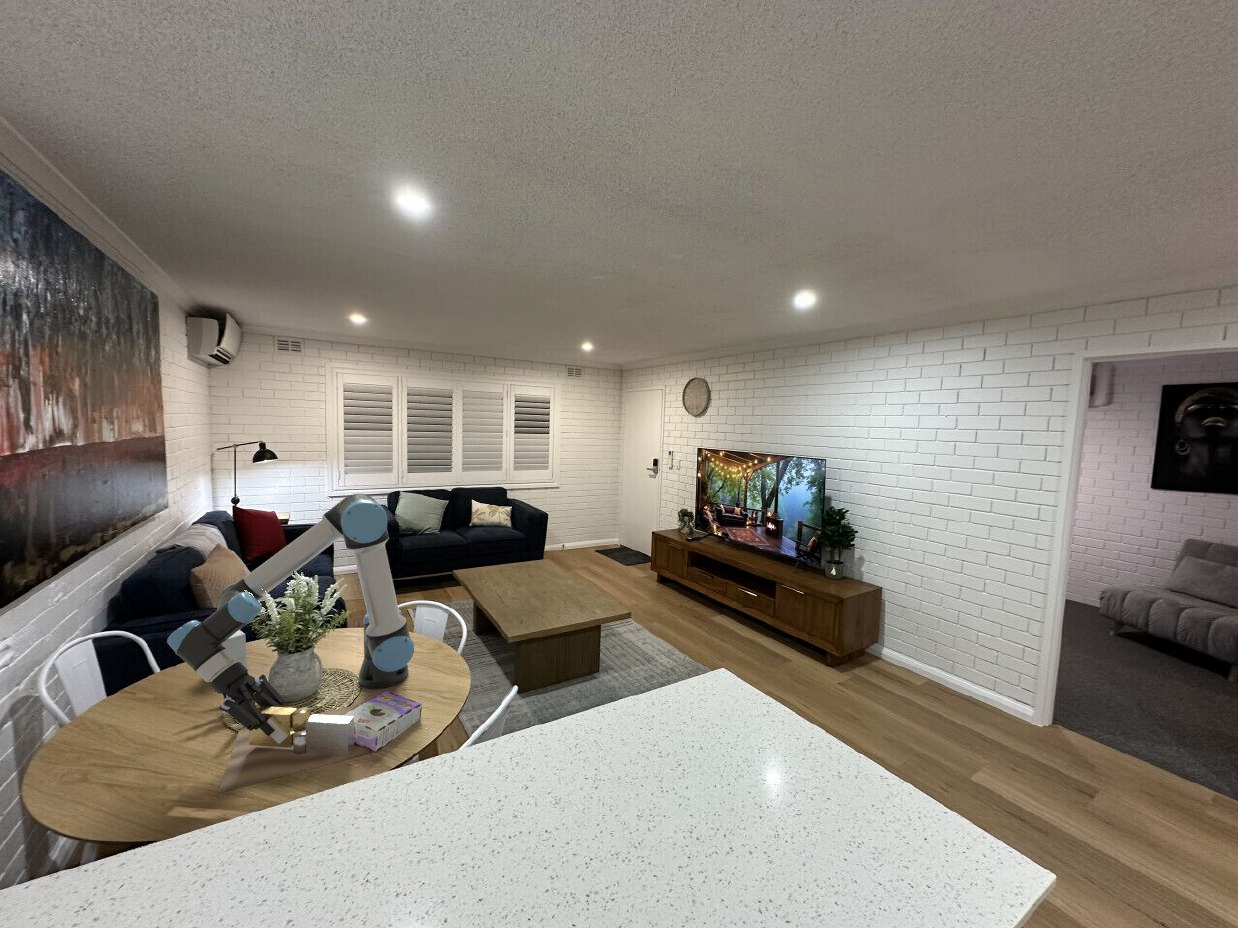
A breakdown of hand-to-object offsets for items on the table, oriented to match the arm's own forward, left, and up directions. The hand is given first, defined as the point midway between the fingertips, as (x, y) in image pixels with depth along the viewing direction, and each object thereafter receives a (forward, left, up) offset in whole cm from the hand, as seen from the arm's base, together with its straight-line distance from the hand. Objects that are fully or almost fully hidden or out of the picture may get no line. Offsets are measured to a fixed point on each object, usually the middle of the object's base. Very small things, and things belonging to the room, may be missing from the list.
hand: (288, 735), depth 131 cm
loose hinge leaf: (-1, -2, -2) cm, 3 cm away
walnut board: (-2, +3, -5) cm, 6 cm away
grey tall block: (-56, -22, -5) cm, 60 cm away
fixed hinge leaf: (+5, +8, -4) cm, 10 cm away
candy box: (-5, +28, -2) cm, 29 cm away
